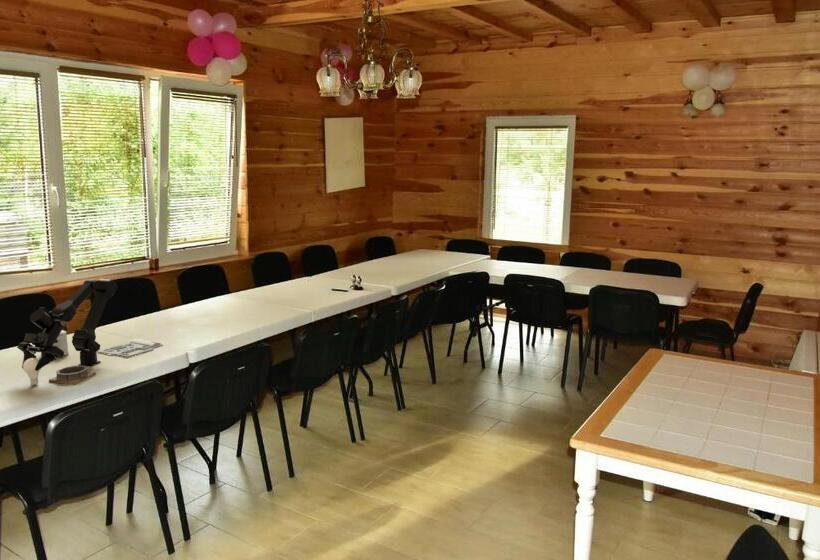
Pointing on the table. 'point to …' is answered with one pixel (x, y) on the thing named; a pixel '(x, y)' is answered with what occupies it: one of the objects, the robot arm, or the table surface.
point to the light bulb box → (62, 342)
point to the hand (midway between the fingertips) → (29, 369)
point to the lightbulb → (32, 370)
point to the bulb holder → (72, 375)
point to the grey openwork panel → (131, 348)
